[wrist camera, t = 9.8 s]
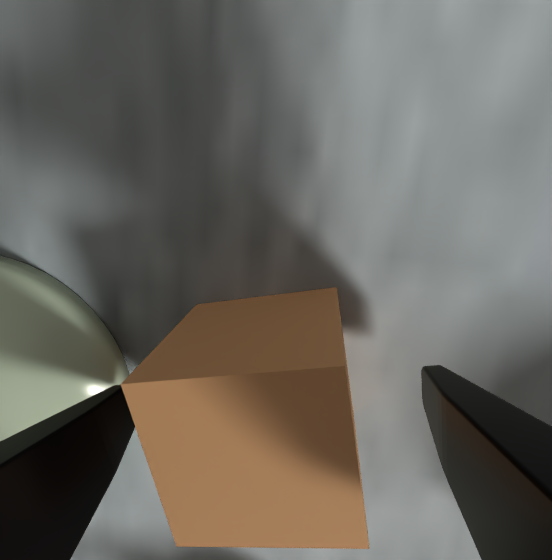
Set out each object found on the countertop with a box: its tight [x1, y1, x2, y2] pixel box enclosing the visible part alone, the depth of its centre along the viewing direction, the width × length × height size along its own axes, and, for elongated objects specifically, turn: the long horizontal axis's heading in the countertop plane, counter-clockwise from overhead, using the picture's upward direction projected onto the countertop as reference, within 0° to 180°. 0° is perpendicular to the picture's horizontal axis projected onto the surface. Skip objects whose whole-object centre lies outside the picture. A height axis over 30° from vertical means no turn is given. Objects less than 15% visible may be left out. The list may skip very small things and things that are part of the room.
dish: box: [0, 256, 129, 441], centre depth 11 cm, size 9×9×1 cm
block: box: [121, 287, 369, 549], centre depth 8 cm, size 4×4×4 cm
